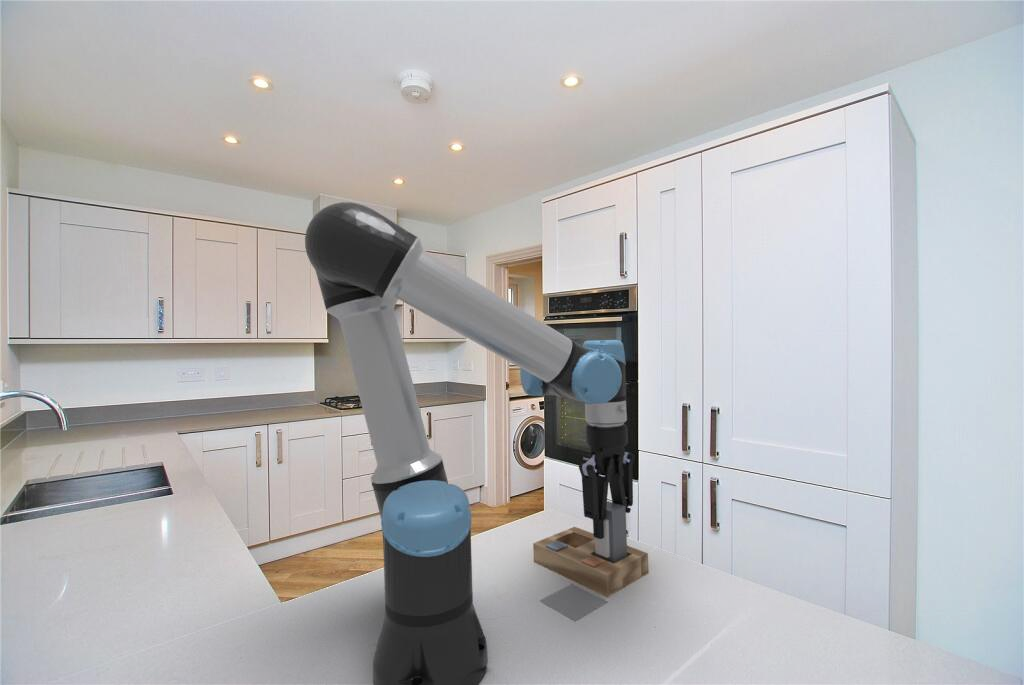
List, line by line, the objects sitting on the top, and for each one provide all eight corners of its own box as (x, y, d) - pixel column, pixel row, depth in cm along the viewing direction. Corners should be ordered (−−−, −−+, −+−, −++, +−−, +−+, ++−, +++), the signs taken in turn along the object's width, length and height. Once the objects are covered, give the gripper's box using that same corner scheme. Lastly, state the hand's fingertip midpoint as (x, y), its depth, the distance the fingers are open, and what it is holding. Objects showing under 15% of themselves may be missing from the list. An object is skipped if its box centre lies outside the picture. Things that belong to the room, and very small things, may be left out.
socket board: (607, 599, 78) (606, 572, 78) (533, 563, 92) (533, 541, 92) (648, 575, 86) (647, 550, 86) (575, 545, 99) (574, 524, 99)
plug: (614, 579, 83) (611, 511, 83) (596, 571, 86) (594, 506, 86) (627, 572, 85) (625, 506, 86) (610, 564, 88) (607, 501, 89)
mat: (575, 624, 71) (575, 621, 71) (539, 603, 77) (539, 600, 77) (608, 604, 76) (608, 601, 76) (572, 586, 83) (572, 583, 83)
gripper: (592, 432, 78) (596, 573, 77) (650, 419, 89) (654, 543, 88) (559, 427, 83) (563, 558, 83) (618, 416, 95) (622, 532, 94)
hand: (610, 550), depth 86 cm, fingers closed on plug, 4 cm apart
